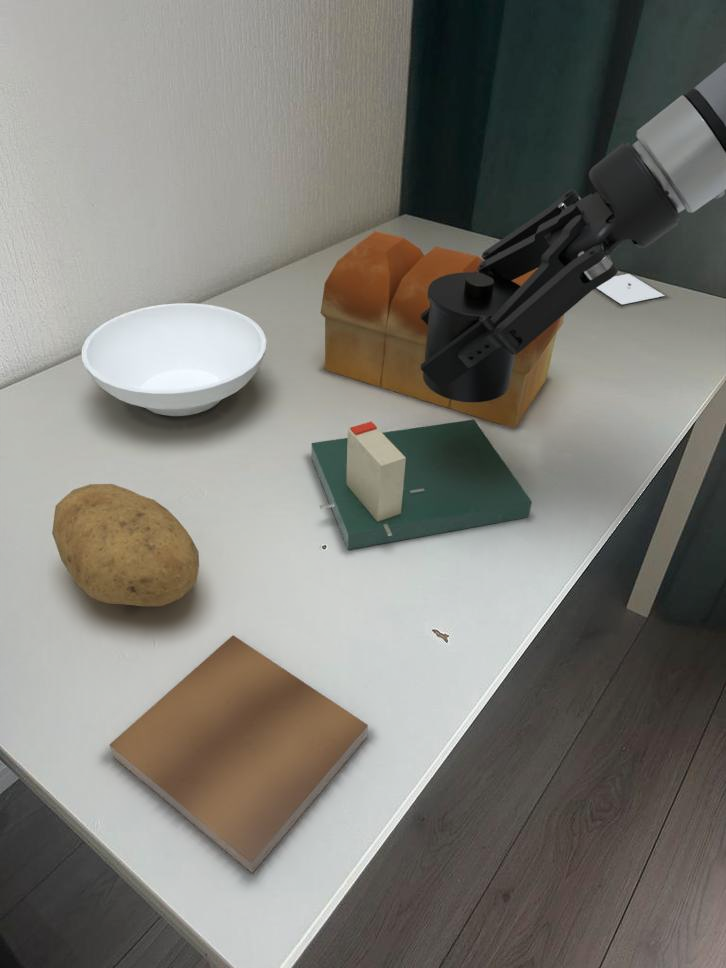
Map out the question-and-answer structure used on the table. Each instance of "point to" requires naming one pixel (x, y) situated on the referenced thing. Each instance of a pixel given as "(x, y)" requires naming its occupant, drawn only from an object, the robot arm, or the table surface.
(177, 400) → the bowl
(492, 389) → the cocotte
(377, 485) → the cream juice carton
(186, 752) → the board
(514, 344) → the robot arm
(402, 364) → the bread
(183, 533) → the potato
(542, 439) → the table surface
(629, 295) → the coaster
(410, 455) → the green rectangular slab
